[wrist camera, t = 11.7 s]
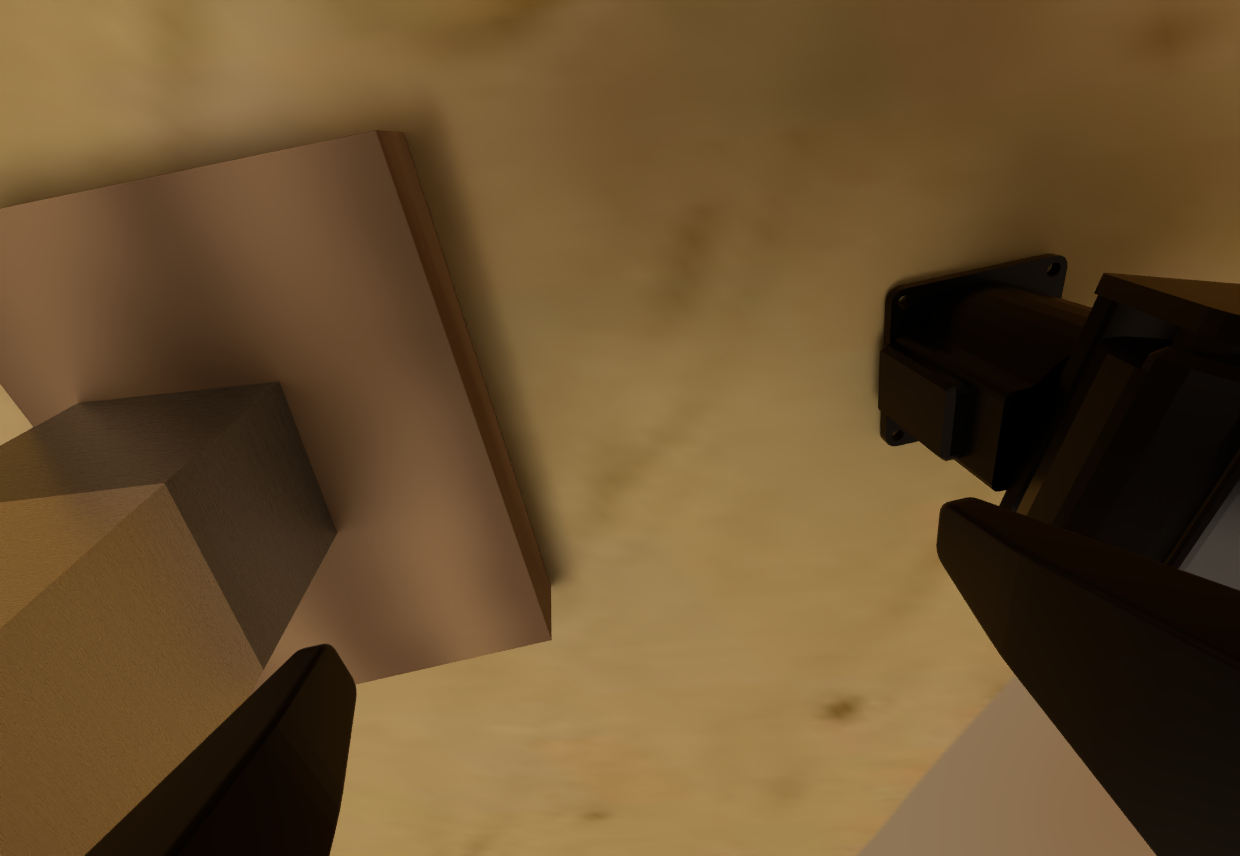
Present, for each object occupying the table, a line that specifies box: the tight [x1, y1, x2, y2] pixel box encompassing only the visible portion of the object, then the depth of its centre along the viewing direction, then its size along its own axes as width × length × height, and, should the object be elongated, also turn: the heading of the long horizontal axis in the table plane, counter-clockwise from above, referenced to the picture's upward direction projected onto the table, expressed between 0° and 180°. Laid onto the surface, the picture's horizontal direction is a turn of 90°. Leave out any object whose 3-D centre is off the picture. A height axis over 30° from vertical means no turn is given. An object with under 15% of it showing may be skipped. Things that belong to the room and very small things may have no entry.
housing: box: [0, 381, 337, 856], centre depth 12 cm, size 6×6×11 cm
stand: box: [0, 130, 551, 695], centre depth 19 cm, size 12×18×3 cm, turn 11°
